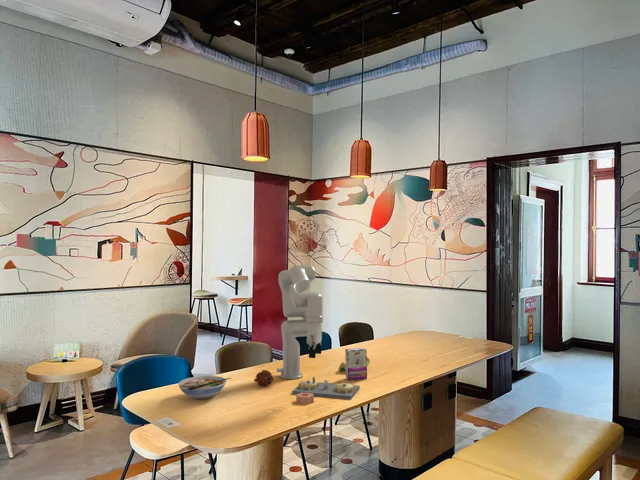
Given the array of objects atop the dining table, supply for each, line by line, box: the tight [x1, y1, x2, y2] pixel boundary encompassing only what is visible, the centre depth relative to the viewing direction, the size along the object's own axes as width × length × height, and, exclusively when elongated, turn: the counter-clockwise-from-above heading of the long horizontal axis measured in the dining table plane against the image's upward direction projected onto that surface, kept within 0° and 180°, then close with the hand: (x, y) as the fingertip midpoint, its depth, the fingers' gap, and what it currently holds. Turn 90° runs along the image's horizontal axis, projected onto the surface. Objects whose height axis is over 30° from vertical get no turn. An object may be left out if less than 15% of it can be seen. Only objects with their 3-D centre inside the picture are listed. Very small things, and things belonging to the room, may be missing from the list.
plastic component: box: [338, 356, 371, 371], centre depth 275 cm, size 20×7×10 cm
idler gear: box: [295, 393, 315, 405], centre depth 216 cm, size 8×7×3 cm
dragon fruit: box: [253, 369, 274, 387], centre depth 243 cm, size 8×8×12 cm
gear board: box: [291, 376, 361, 400], centre depth 232 cm, size 30×18×6 cm, turn 72°
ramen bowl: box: [178, 375, 231, 400], centre depth 224 cm, size 25×23×8 cm
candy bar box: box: [344, 347, 368, 381], centre depth 255 cm, size 11×5×16 cm, turn 105°
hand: (315, 355), depth 220 cm, fingers open, 9 cm apart
